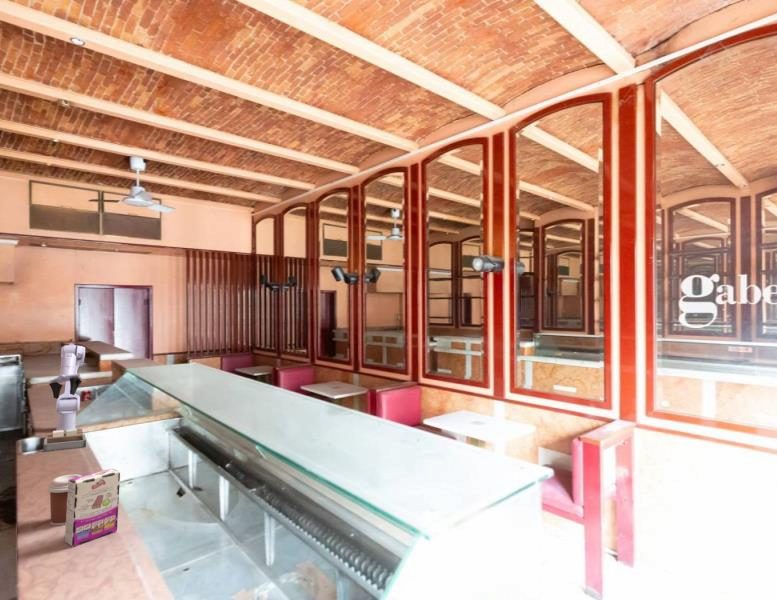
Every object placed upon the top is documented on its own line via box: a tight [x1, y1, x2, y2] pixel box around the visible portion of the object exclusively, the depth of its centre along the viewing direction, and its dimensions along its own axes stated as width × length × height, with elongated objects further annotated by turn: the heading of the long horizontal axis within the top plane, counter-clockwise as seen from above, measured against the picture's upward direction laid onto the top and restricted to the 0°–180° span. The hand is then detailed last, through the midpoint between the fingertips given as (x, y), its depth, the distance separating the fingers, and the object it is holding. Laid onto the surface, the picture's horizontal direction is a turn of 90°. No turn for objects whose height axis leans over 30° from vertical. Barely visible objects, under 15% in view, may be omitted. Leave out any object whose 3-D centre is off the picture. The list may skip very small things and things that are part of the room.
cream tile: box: [52, 430, 64, 437], centre depth 205 cm, size 4×4×2 cm
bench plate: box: [45, 428, 84, 444], centre depth 209 cm, size 14×14×2 cm
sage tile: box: [66, 428, 78, 436], centre depth 208 cm, size 4×4×2 cm
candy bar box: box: [64, 468, 121, 548], centre depth 119 cm, size 11×5×16 cm, turn 148°
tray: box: [43, 433, 87, 453], centre depth 198 cm, size 12×15×3 cm
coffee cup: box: [46, 473, 82, 527], centre depth 128 cm, size 9×9×12 cm
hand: (64, 396), depth 205 cm, fingers open, 7 cm apart
